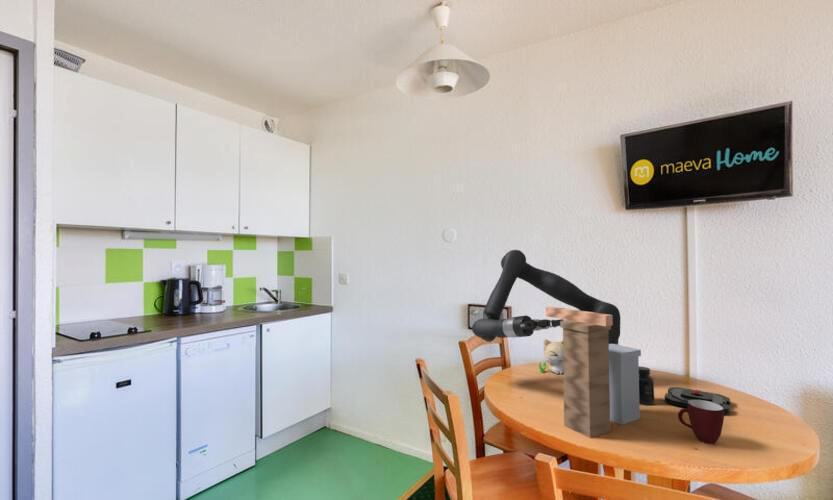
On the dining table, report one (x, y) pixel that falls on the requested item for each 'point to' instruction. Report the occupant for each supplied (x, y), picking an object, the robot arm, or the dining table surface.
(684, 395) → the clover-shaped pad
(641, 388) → the supplement bottle
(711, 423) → the mug
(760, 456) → the dining table surface
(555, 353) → the kitten
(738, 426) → the dining table surface
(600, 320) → the terracotta bar
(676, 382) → the dining table surface
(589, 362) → the tall pedestal
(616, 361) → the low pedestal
